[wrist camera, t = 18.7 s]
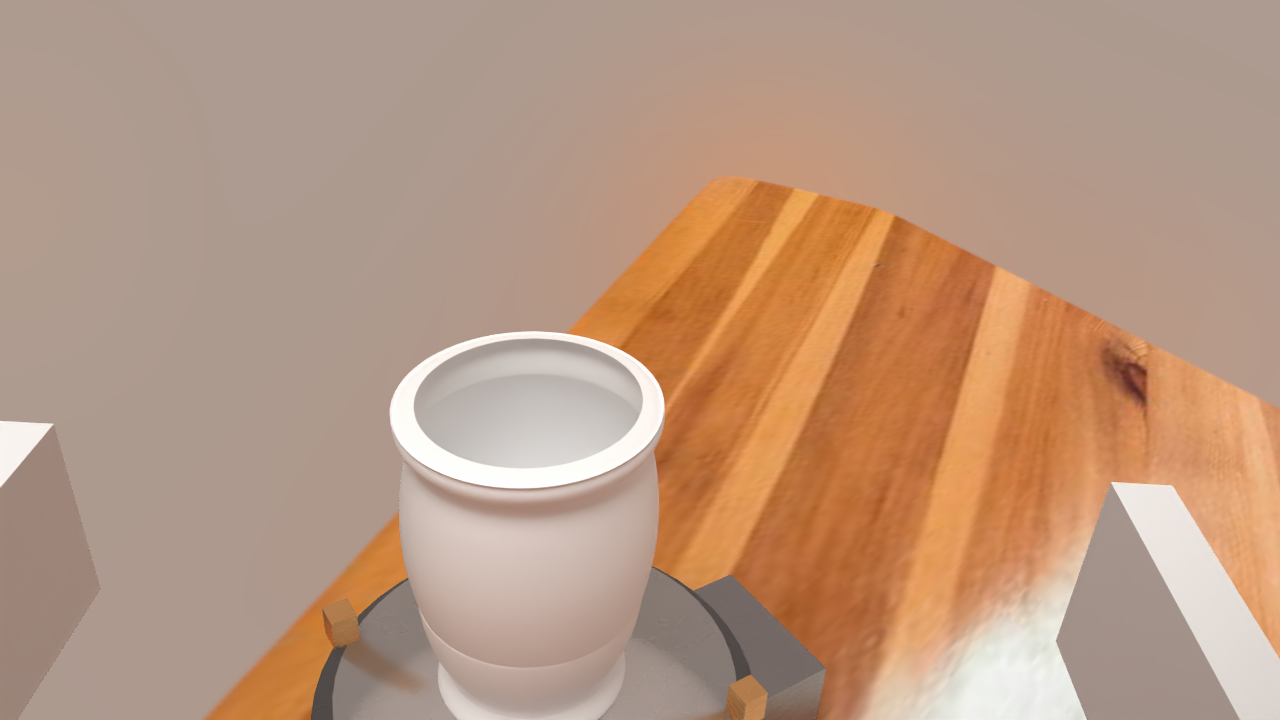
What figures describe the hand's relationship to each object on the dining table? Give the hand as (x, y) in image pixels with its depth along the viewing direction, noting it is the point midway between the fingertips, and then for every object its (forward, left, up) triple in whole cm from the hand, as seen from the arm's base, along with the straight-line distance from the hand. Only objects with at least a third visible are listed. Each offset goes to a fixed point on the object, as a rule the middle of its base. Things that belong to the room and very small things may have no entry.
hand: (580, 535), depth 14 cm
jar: (-11, -21, -29) cm, 38 cm away
